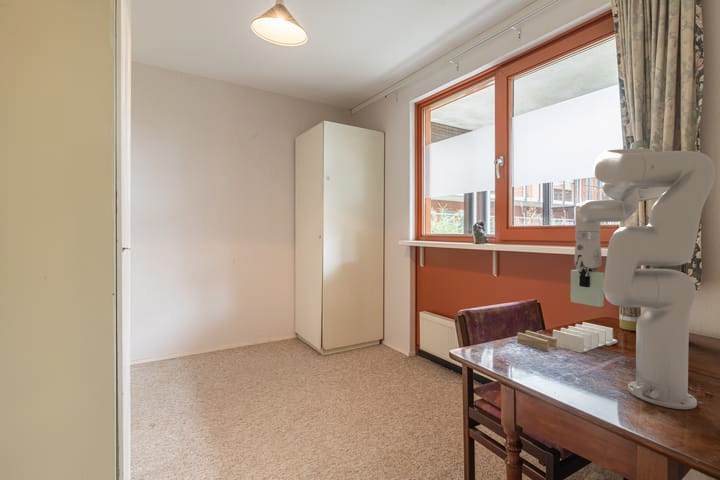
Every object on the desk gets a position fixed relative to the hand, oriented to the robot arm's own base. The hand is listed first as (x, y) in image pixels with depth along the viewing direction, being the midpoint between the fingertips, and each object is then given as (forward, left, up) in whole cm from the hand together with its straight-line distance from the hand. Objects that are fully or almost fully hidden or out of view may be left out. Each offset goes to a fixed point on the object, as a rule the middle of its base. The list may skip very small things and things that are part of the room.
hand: (586, 285), depth 121 cm
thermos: (+32, -12, -21) cm, 41 cm away
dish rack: (-3, 0, -21) cm, 21 cm away
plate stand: (-20, +7, -21) cm, 30 cm away
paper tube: (+34, 0, -21) cm, 40 cm away
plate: (0, 0, -7) cm, 7 cm away
